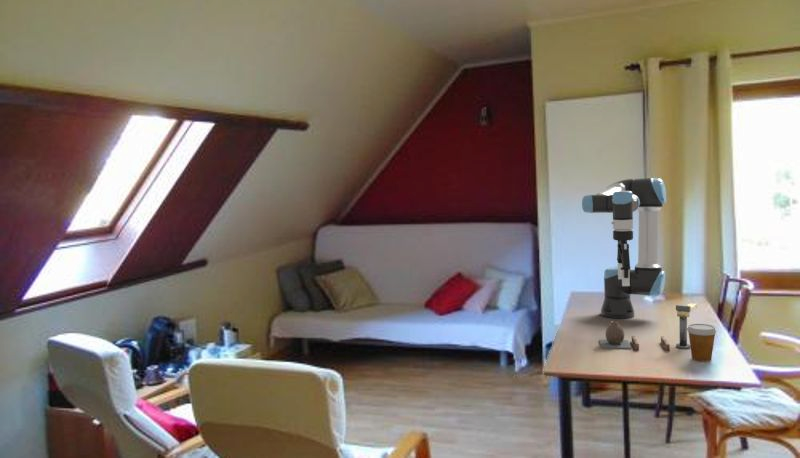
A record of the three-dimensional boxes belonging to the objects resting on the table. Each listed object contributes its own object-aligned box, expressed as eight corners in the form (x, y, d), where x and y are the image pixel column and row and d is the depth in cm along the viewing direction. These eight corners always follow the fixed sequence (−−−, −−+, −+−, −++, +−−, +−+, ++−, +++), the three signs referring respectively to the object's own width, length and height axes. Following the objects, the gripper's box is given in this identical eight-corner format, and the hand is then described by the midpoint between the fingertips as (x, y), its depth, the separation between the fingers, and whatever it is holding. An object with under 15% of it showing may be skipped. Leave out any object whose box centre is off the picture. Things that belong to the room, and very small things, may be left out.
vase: (612, 346, 238) (612, 324, 238) (602, 342, 245) (601, 320, 244) (627, 344, 240) (627, 322, 239) (617, 340, 247) (616, 319, 246)
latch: (700, 308, 246) (700, 298, 245) (688, 317, 232) (688, 307, 231) (686, 307, 249) (686, 297, 249) (674, 316, 235) (674, 306, 234)
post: (674, 345, 239) (674, 314, 238) (688, 345, 238) (688, 314, 237) (677, 348, 234) (677, 317, 233) (691, 349, 233) (691, 317, 232)
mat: (599, 340, 249) (599, 339, 249) (627, 341, 247) (627, 340, 247) (601, 348, 238) (601, 347, 238) (631, 349, 236) (631, 347, 236)
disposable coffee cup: (707, 354, 226) (707, 322, 225) (721, 362, 216) (722, 329, 215) (682, 355, 225) (682, 324, 224) (695, 363, 216) (695, 330, 215)
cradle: (631, 341, 246) (631, 335, 246) (663, 342, 243) (663, 336, 243) (636, 350, 234) (636, 344, 234) (669, 351, 231) (669, 344, 231)
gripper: (609, 226, 255) (610, 276, 258) (616, 234, 231) (617, 289, 234) (628, 226, 254) (629, 276, 256) (637, 233, 230) (638, 288, 232)
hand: (623, 282), depth 245 cm, fingers open, 13 cm apart
